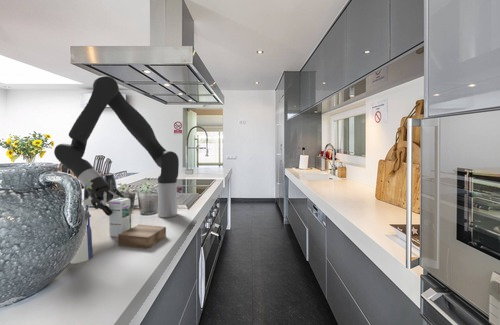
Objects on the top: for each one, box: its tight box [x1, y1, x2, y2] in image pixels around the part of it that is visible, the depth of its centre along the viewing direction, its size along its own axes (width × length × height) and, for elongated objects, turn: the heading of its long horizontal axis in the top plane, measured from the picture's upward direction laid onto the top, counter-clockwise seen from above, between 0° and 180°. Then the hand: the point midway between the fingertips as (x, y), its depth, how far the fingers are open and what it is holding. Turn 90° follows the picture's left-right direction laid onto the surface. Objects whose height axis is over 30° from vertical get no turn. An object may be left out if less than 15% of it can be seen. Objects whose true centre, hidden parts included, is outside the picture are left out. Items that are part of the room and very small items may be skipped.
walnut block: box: [117, 224, 167, 249], centre depth 97 cm, size 12×12×4 cm
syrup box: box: [108, 197, 132, 238], centre depth 104 cm, size 6×6×14 cm
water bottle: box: [70, 179, 94, 265], centre depth 81 cm, size 8×9×25 cm
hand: (118, 211), depth 104 cm, fingers open, 8 cm apart
